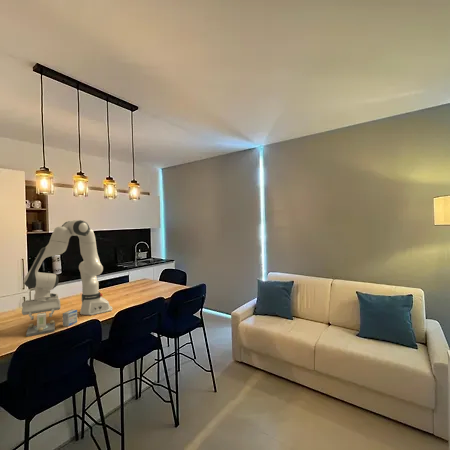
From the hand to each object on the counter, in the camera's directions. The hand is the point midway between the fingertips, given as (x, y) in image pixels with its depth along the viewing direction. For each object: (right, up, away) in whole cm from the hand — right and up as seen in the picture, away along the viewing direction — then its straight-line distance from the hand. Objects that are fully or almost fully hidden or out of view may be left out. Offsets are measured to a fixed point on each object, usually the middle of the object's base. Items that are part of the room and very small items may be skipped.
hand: (41, 317), depth 161 cm
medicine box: (+12, -8, +11) cm, 18 cm away
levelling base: (0, -8, 0) cm, 8 cm away
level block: (0, -6, 0) cm, 6 cm away
